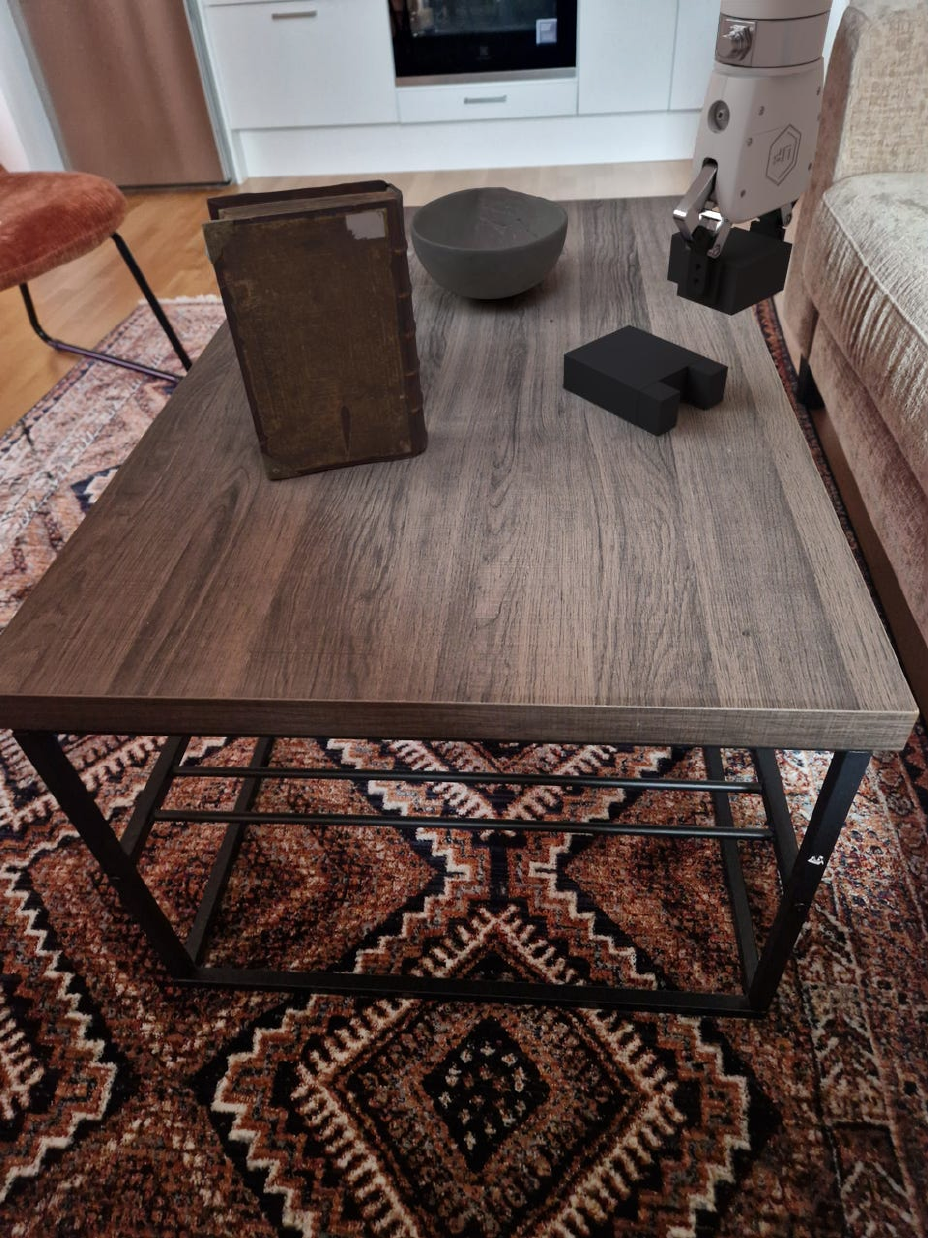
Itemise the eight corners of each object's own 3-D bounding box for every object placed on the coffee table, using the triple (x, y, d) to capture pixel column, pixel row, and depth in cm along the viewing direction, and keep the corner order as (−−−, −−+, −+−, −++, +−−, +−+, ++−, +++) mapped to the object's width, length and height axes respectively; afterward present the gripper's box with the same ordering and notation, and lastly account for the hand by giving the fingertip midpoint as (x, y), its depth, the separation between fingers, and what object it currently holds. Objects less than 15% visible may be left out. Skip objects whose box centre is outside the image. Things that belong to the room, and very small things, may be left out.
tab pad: (783, 290, 73) (793, 243, 71) (731, 316, 71) (739, 268, 68) (703, 263, 79) (709, 218, 76) (652, 286, 76) (656, 240, 73)
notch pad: (723, 401, 89) (728, 366, 87) (657, 436, 85) (661, 401, 83) (626, 357, 98) (629, 324, 95) (563, 387, 94) (563, 353, 91)
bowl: (395, 318, 109) (385, 239, 102) (443, 257, 123) (437, 184, 116) (548, 329, 104) (548, 246, 97) (580, 264, 118) (582, 187, 111)
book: (428, 429, 89) (400, 173, 72) (432, 467, 84) (403, 200, 67) (270, 445, 89) (204, 192, 72) (264, 484, 84) (192, 221, 67)
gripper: (733, 72, 55) (698, 331, 68) (886, 24, 62) (829, 267, 75) (647, 58, 60) (629, 304, 72) (799, 15, 67) (759, 245, 79)
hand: (731, 283), depth 73 cm, fingers closed on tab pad, 7 cm apart
